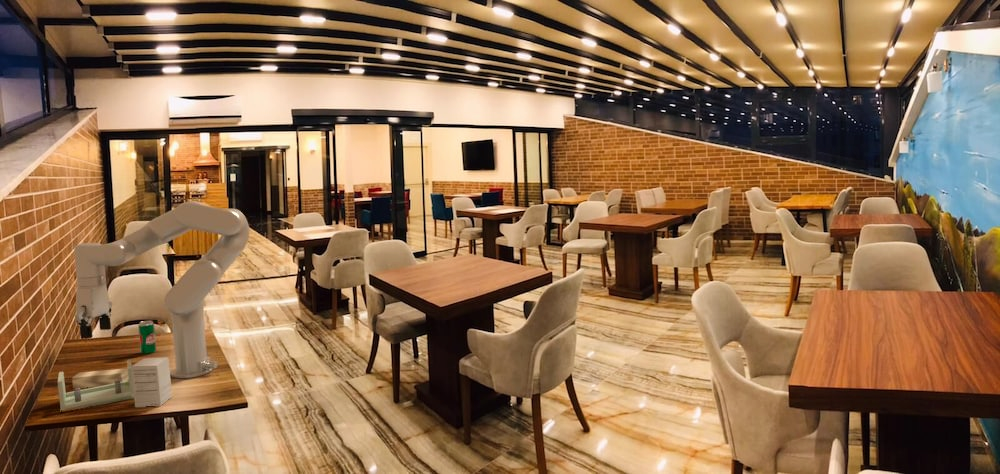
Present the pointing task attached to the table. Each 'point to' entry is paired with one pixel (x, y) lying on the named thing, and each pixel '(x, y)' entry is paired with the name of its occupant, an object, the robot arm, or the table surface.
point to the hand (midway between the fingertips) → (96, 333)
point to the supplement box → (151, 382)
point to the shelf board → (99, 378)
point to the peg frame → (95, 393)
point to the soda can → (147, 337)
